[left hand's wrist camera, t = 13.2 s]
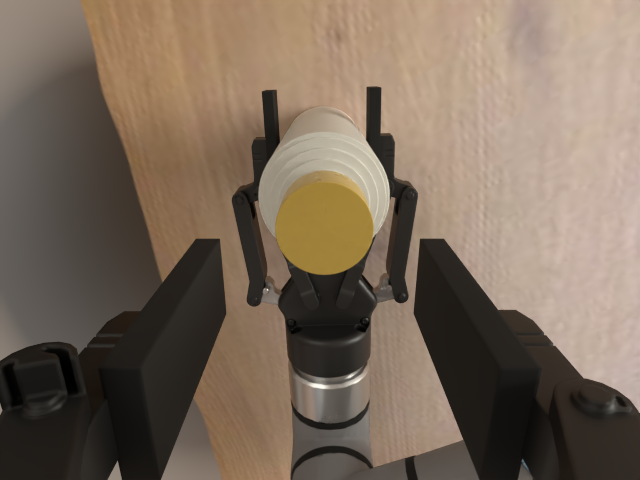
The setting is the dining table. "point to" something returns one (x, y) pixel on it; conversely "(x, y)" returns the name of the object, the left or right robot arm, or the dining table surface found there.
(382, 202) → the bottle
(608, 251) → the dining table surface
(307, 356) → the right robot arm
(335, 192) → the cap
